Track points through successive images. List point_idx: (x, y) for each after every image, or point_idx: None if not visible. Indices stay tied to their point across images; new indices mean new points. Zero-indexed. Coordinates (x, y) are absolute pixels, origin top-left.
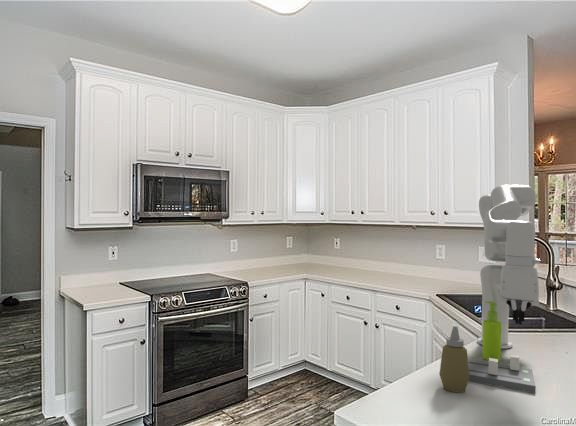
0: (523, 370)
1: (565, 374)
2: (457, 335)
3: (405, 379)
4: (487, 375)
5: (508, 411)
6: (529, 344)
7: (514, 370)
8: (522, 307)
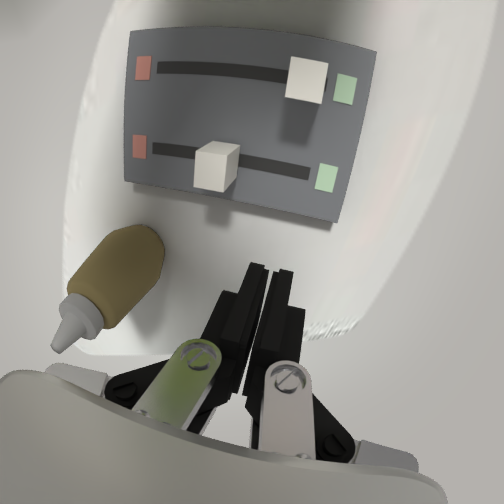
0: (340, 80)
1: (477, 31)
2: (76, 340)
3: (66, 223)
4: None
5: None
6: None
7: None
8: (258, 433)
